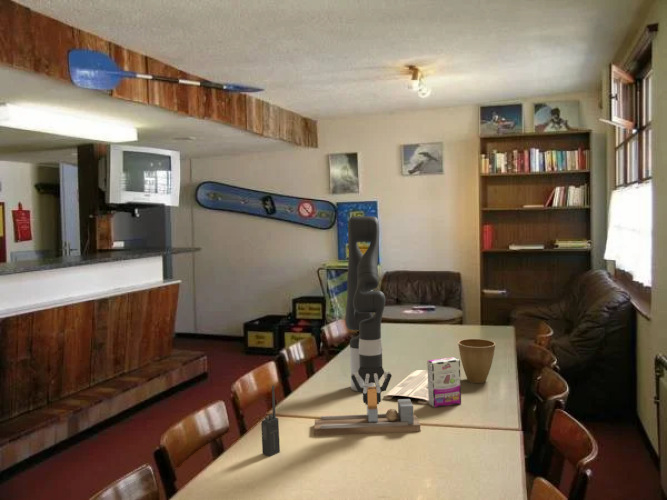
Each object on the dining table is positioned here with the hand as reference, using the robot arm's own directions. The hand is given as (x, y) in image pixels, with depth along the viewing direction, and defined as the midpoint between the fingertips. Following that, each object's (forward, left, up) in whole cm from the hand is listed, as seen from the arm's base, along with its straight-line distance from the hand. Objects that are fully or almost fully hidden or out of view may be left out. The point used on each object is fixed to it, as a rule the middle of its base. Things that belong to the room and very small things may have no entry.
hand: (371, 403), depth 189 cm
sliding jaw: (0, 0, -6) cm, 6 cm away
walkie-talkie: (+17, -32, -8) cm, 37 cm away
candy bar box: (-21, +28, -8) cm, 36 cm away
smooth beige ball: (0, +7, -4) cm, 8 cm away
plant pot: (-48, +48, -8) cm, 68 cm away
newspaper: (-42, +22, -9) cm, 48 cm away
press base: (0, -2, -8) cm, 8 cm away
